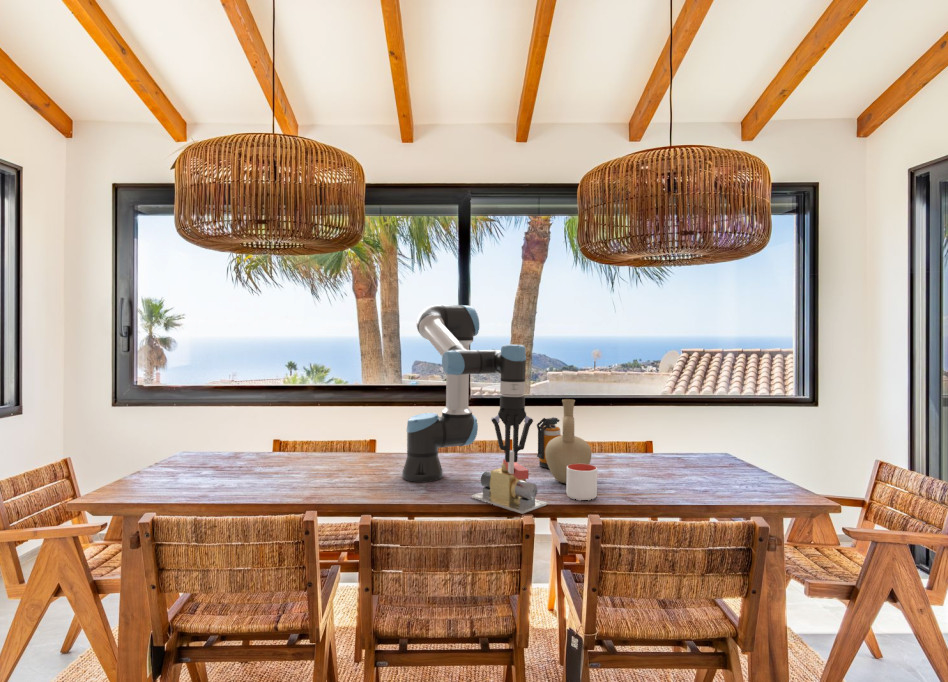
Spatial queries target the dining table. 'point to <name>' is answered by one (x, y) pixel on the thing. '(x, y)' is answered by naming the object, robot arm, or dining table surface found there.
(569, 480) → the cup
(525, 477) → the lever
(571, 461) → the vase
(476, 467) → the dining table surface
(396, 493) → the dining table surface
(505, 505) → the valve
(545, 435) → the canister
